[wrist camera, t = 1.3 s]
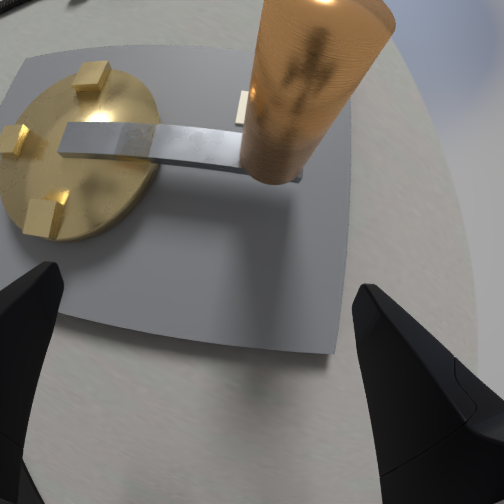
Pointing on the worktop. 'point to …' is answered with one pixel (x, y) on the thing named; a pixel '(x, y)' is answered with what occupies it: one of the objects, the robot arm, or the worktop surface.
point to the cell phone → (26, 489)
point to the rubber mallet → (9, 4)
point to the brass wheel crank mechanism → (182, 137)
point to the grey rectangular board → (201, 220)
